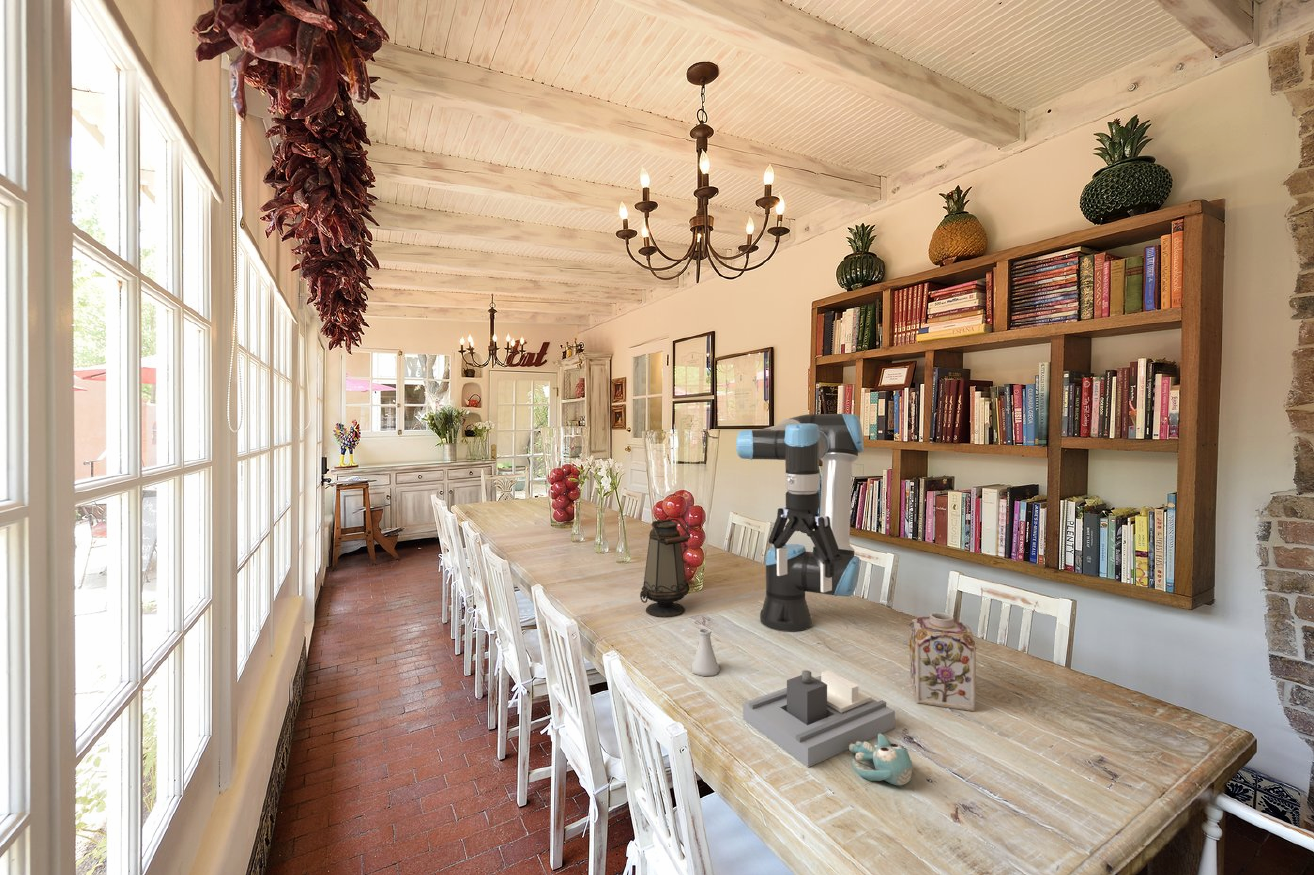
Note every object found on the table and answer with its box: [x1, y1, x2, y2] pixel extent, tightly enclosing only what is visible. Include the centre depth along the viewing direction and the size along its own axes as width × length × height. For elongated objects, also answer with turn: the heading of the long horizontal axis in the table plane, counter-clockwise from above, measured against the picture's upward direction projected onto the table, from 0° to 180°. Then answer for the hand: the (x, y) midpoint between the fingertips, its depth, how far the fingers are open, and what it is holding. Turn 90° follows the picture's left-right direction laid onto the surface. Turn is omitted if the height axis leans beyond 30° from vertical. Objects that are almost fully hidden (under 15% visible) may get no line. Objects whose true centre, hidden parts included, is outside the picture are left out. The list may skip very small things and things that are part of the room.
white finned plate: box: [820, 669, 872, 713], centre depth 112 cm, size 9×9×4 cm
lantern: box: [639, 517, 691, 619], centre depth 175 cm, size 18×15×30 cm
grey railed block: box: [742, 675, 896, 768], centre depth 109 cm, size 24×18×4 cm
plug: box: [786, 669, 827, 725], centre depth 108 cm, size 6×6×10 cm
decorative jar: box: [909, 611, 977, 712], centre depth 120 cm, size 12×12×18 cm
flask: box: [690, 627, 721, 677], centre depth 133 cm, size 7×7×10 cm
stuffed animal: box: [848, 733, 913, 787], centre depth 95 cm, size 11×7×12 cm
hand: (803, 582), depth 124 cm, fingers open, 13 cm apart
